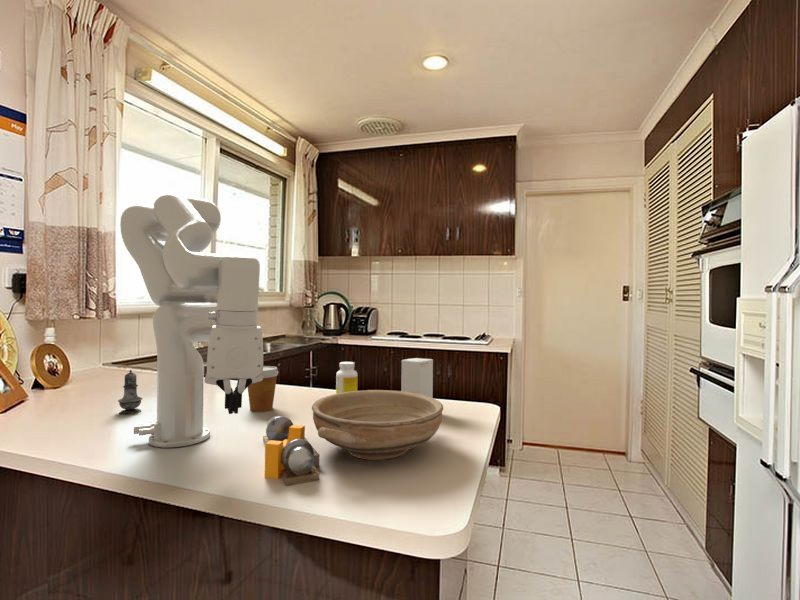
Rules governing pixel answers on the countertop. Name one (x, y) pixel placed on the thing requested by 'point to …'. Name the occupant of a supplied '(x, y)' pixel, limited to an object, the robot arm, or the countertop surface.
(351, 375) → the supplement bottle
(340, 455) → the countertop surface
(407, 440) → the ceramic bowl
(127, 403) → the salt shaker
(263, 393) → the disposable coffee cup
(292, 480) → the pipe run
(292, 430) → the pipe clamp
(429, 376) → the skincare box
